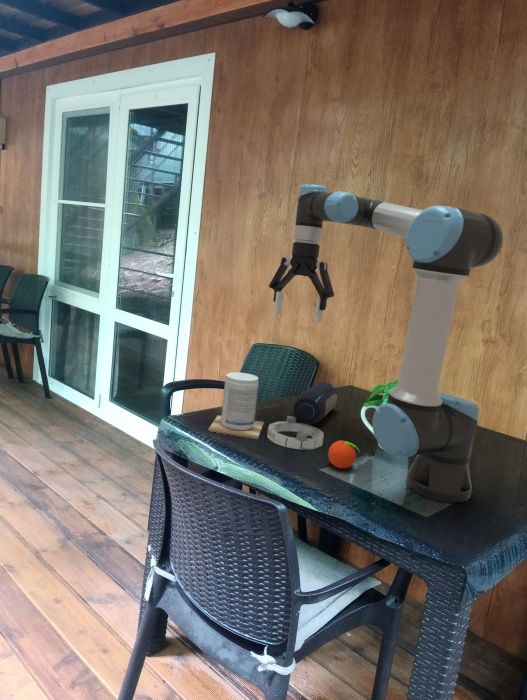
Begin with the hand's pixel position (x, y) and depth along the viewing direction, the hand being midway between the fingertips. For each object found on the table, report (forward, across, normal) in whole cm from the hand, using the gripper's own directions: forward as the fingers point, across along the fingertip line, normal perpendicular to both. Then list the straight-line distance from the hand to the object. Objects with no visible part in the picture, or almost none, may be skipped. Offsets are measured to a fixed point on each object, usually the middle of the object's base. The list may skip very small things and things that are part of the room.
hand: (297, 317), depth 163 cm
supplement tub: (+33, +9, +11) cm, 36 cm away
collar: (+33, -7, +5) cm, 34 cm away
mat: (+33, +9, +11) cm, 36 cm away
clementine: (+34, -26, +13) cm, 45 cm away
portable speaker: (+33, 0, -19) cm, 38 cm away
